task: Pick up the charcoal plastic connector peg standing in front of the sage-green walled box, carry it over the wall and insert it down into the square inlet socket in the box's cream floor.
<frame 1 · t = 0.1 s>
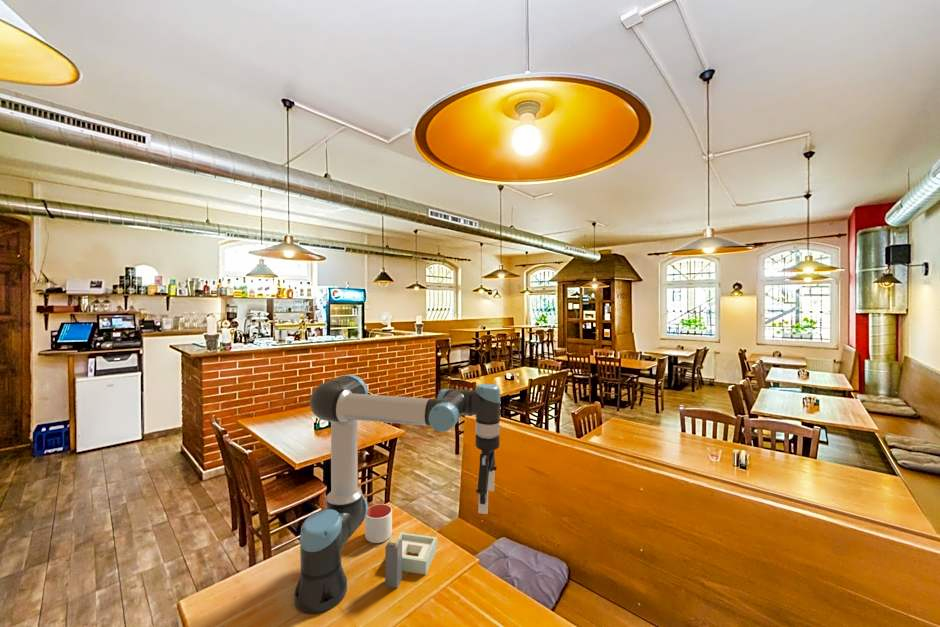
hand: (486, 501, 119), 28 cm above the table, fingers open, 13 cm apart
cup: (378, 536, 145), on the table
connector: (393, 582, 121), on the table
walled box: (412, 558, 133), on the table
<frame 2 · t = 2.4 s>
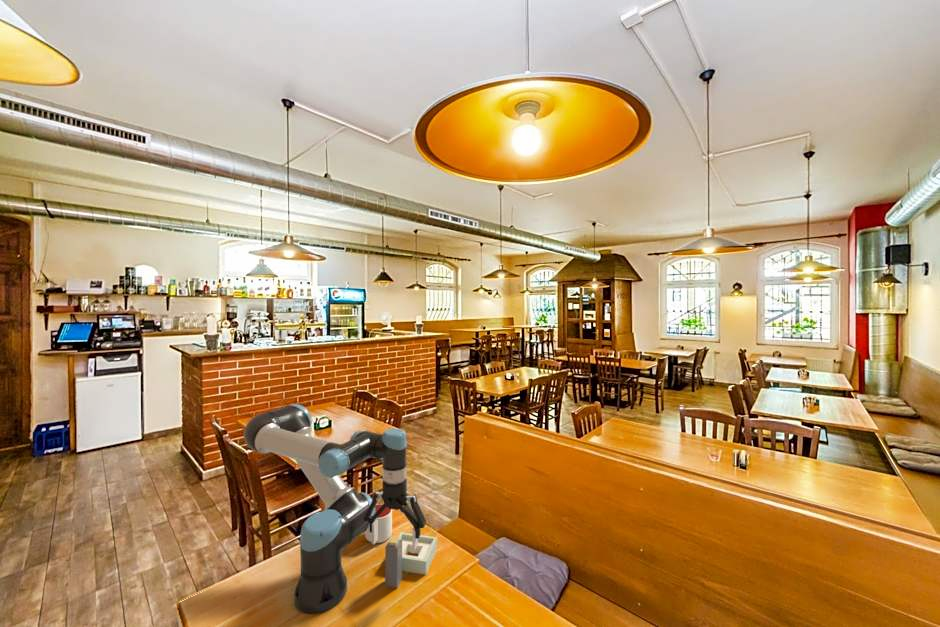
hand: (394, 544, 121), 13 cm above the table, fingers open, 13 cm apart
nothing on the table moved.
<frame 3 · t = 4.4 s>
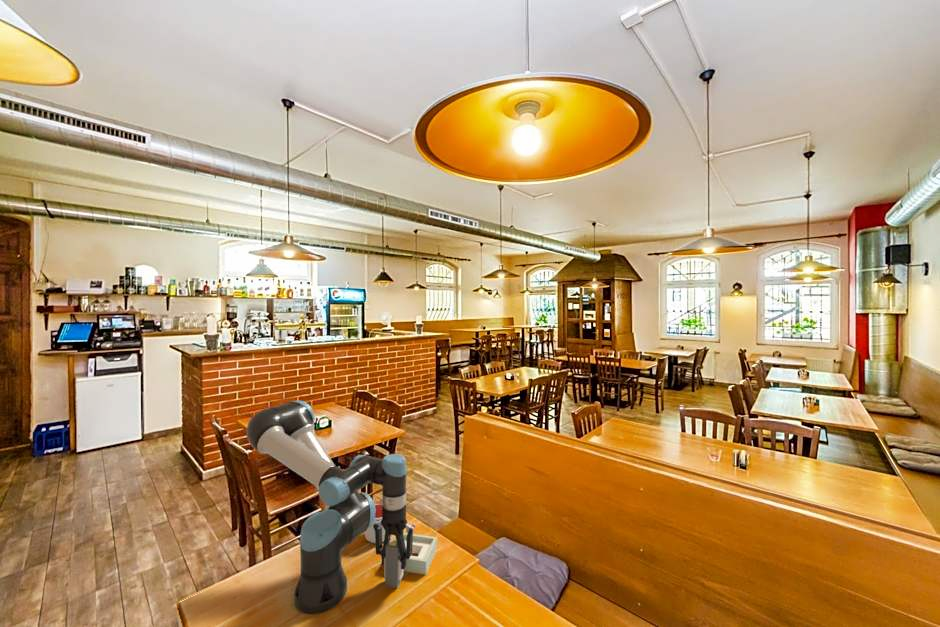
hand: (393, 576, 121), 2 cm above the table, fingers closed on connector, 4 cm apart
connector: (393, 582, 121), on the table, touching gripper
everything else where it was.
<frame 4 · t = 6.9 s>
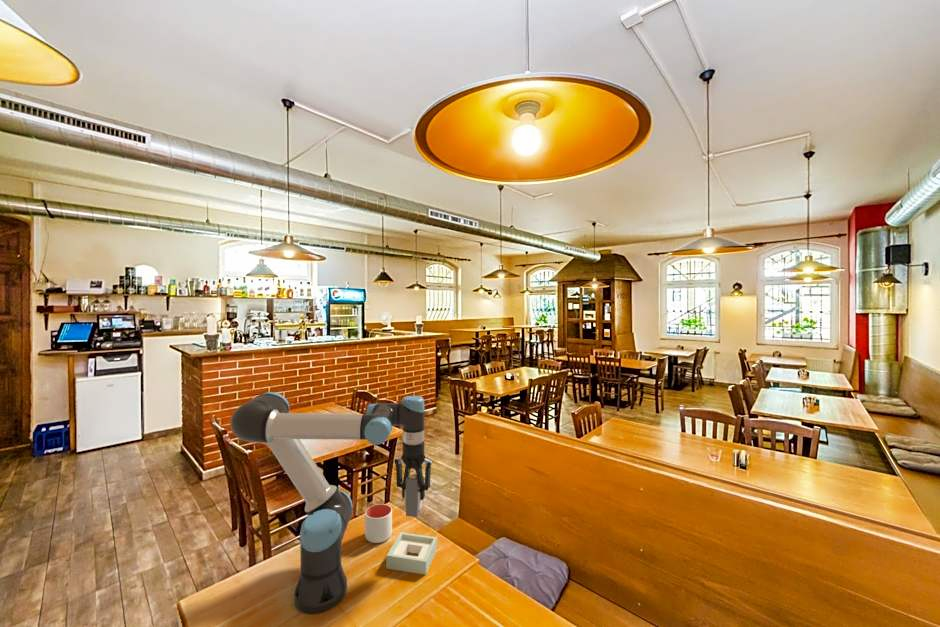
hand: (413, 507, 132), 18 cm above the table, fingers closed on connector, 4 cm apart
connector: (413, 513, 132), point 16 cm above the table, touching gripper
everything else where it was.
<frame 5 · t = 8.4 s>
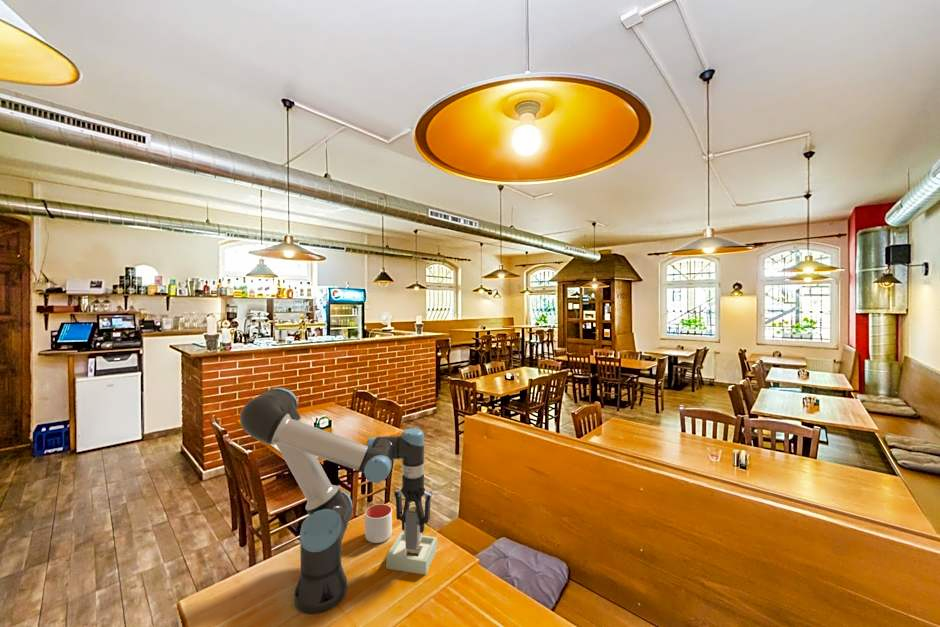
hand: (413, 539, 132), 7 cm above the table, fingers closed on connector, 4 cm apart
connector: (413, 545, 133), point 5 cm above the table, touching gripper
everything else where it was.
when the fingers open (4 cm above the table, at t = 9.5 s): connector drops 2 cm, resting in walled box.
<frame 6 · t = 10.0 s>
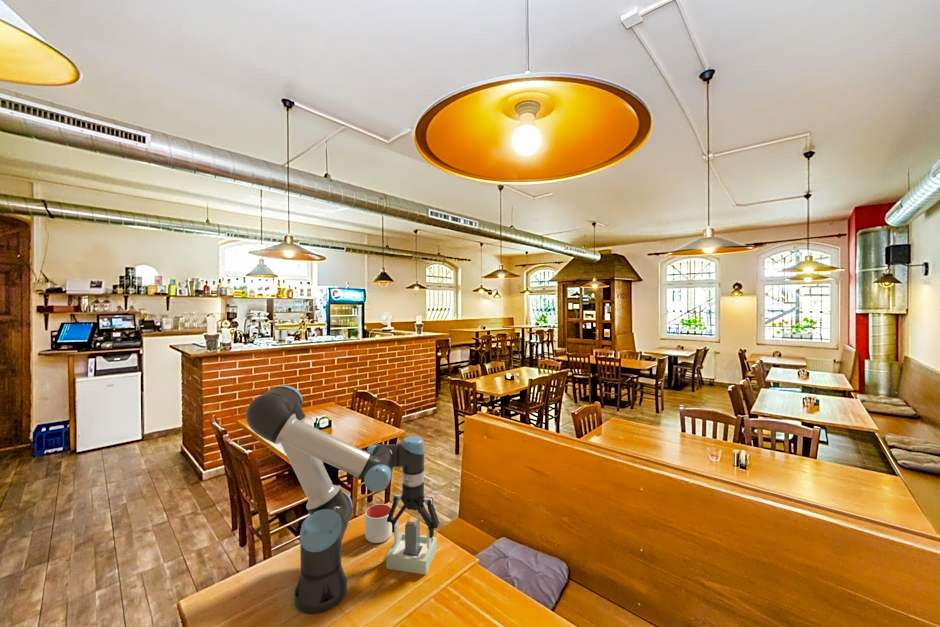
hand: (412, 543, 133), 5 cm above the table, fingers open, 11 cm apart
connector: (412, 558, 133), resting in walled box
everything else where it was.
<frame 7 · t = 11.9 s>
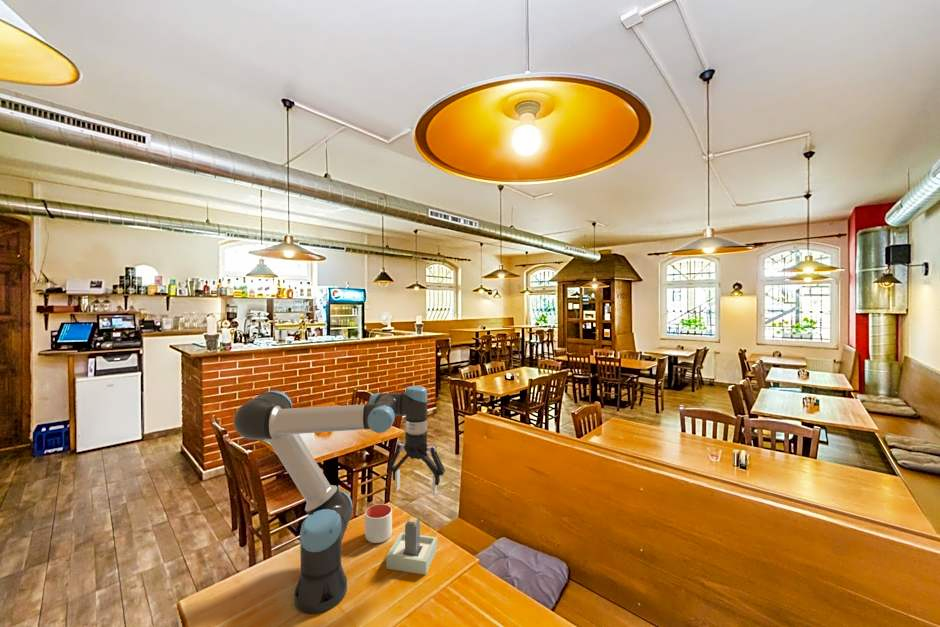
hand: (416, 491, 132), 24 cm above the table, fingers open, 13 cm apart
nothing on the table moved.
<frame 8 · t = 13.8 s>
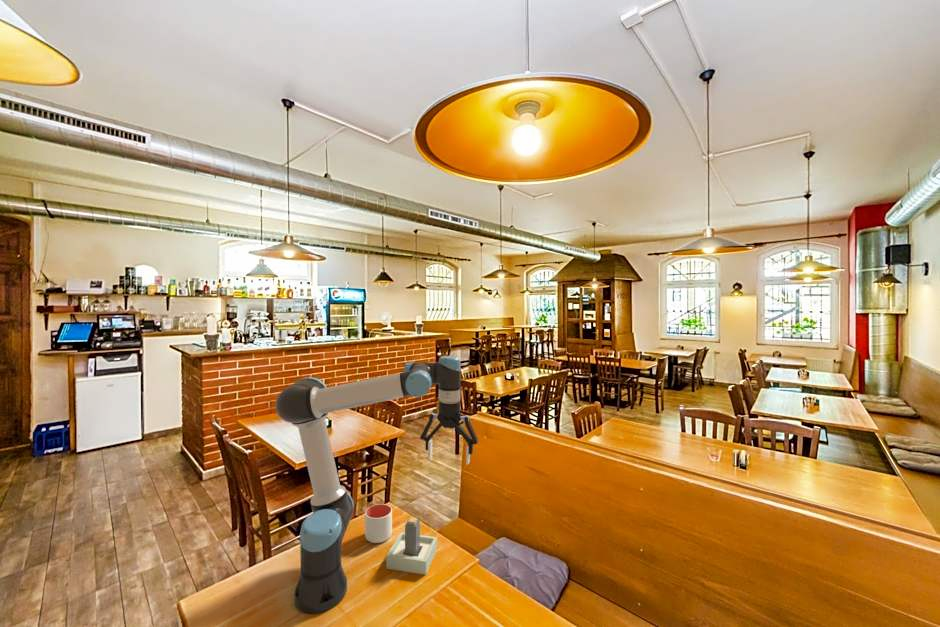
hand: (448, 461, 132), 35 cm above the table, fingers open, 13 cm apart
nothing on the table moved.
at the end: connector 0.1 cm off-centre on the walled box, point 0.0 cm above the walled box's base; connector tilted 0°; the gripper is holding nothing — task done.
